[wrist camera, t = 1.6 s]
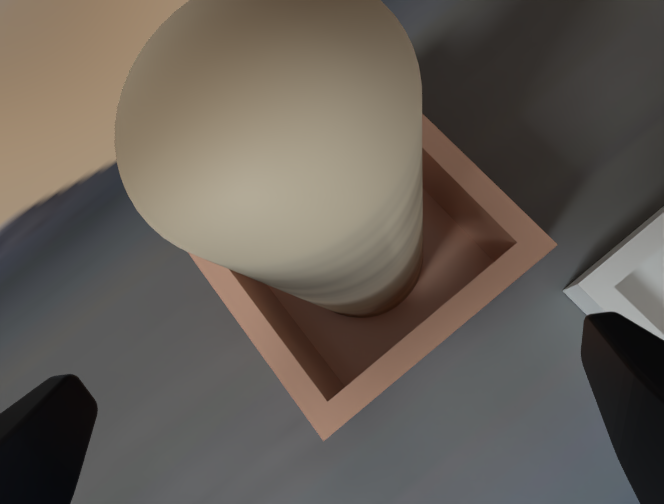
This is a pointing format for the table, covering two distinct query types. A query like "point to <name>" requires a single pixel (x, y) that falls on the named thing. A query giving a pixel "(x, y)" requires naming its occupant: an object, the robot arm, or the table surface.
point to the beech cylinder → (282, 146)
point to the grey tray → (628, 278)
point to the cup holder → (408, 317)
